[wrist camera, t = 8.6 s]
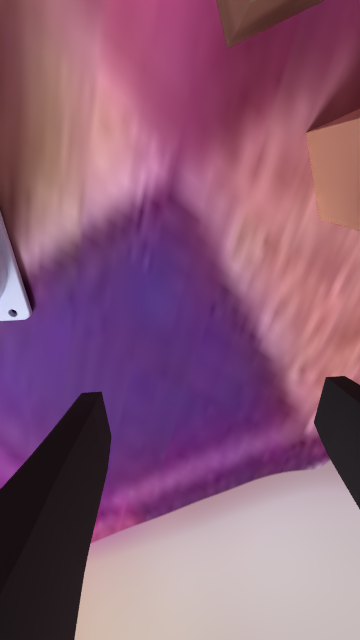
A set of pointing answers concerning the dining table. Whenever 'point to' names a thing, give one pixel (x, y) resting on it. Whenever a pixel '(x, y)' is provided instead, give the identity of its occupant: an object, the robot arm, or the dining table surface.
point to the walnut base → (255, 16)
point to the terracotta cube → (337, 169)
